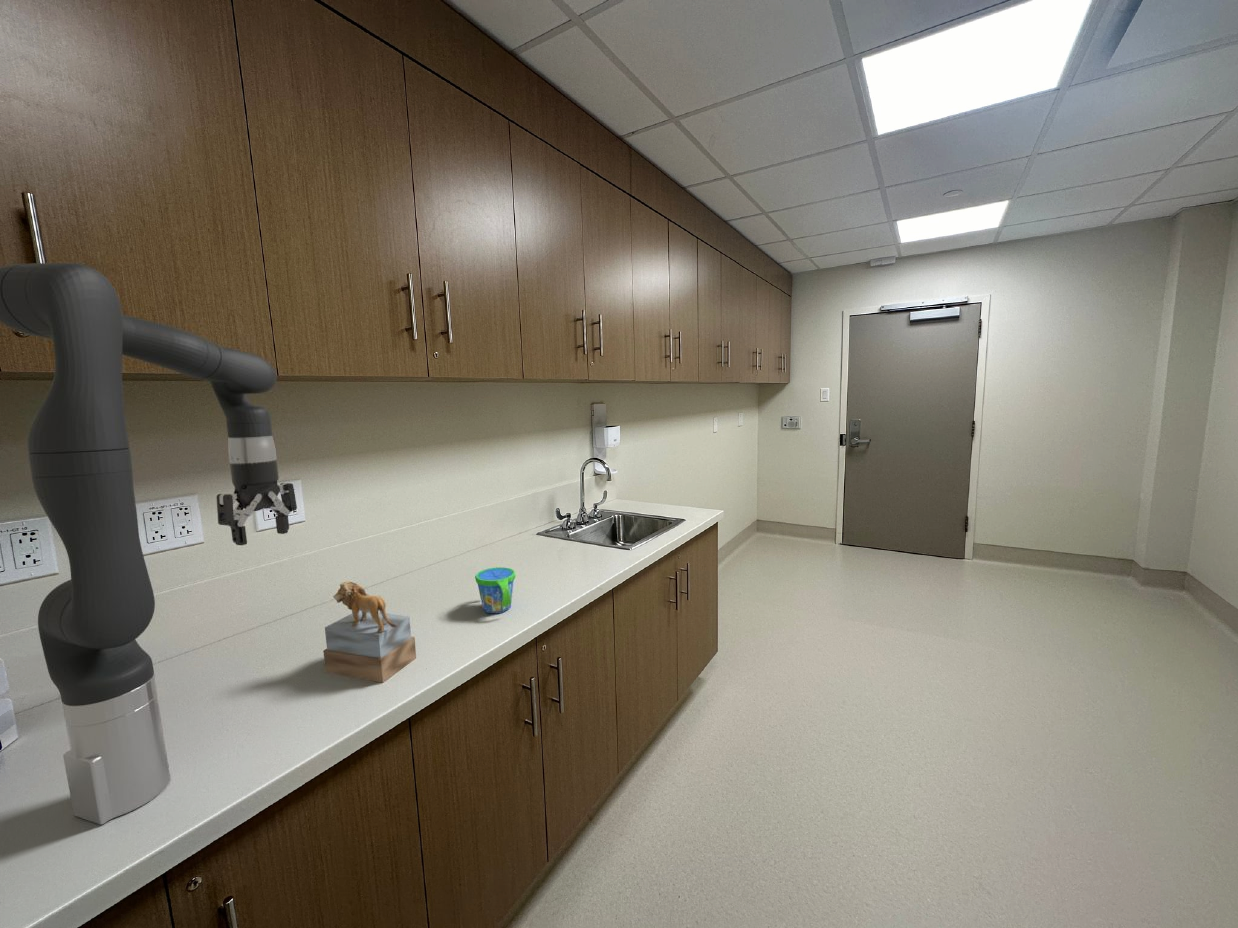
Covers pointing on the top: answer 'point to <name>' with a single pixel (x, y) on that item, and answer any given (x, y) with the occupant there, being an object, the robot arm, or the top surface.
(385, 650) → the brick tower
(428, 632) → the top surface
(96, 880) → the top surface
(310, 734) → the top surface
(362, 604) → the lion figurine
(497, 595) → the snack cup
